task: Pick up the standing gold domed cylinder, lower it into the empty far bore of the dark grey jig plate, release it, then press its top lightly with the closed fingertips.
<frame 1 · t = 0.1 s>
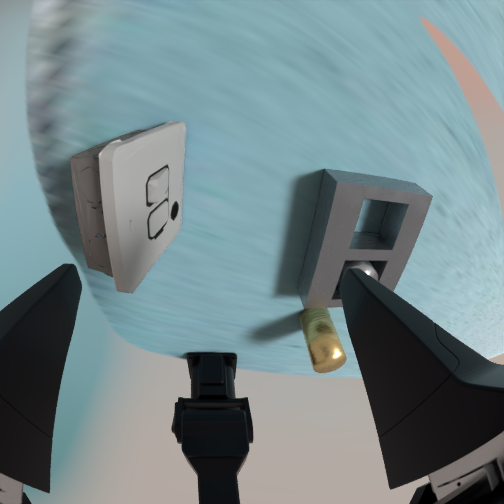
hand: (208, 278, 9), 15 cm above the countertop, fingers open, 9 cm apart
gold domed cylinder: (313, 315, 32), on the countertop
electrical switch: (151, 177, 21), on the countertop
jig: (357, 237, 26), on the countertop
silver round knob: (348, 261, 28), resting in jig
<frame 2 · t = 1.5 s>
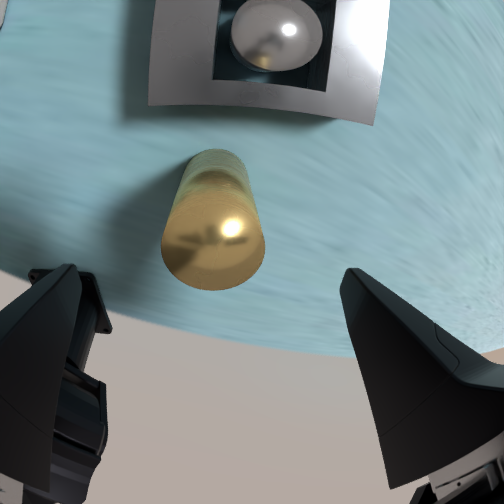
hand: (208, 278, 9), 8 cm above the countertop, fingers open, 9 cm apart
gold domed cylinder: (215, 179, 15), on the countertop
silver round knob: (265, 40, 11), resting in jig
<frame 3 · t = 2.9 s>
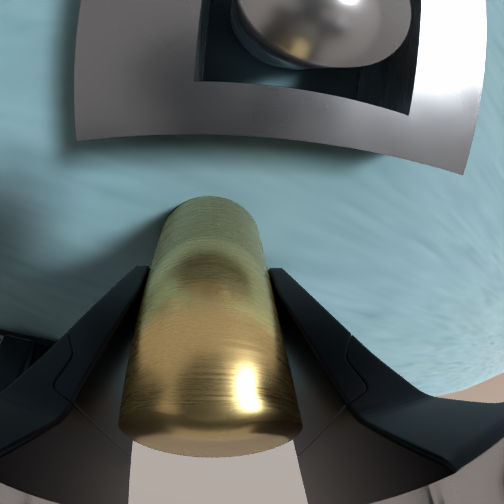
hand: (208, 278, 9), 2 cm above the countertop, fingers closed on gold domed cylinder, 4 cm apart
gold domed cylinder: (209, 241, 10), on the countertop, touching gripper
silver round knob: (291, 17, 6), resting in jig
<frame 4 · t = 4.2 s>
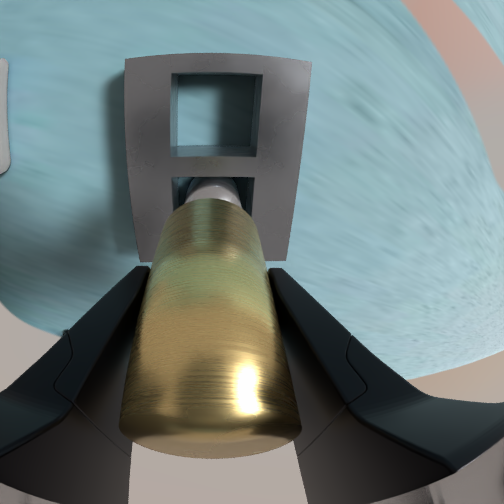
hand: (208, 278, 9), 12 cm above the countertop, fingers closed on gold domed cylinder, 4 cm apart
gold domed cylinder: (209, 243, 10), point 10 cm above the countertop, touching gripper
jig: (213, 154, 18), on the countertop
silver round knob: (212, 195, 19), resting in jig
when the fingers open (3 cm above the countertop, at t = 5.9 s): gold domed cylinder drops 2 cm, resting in jig.
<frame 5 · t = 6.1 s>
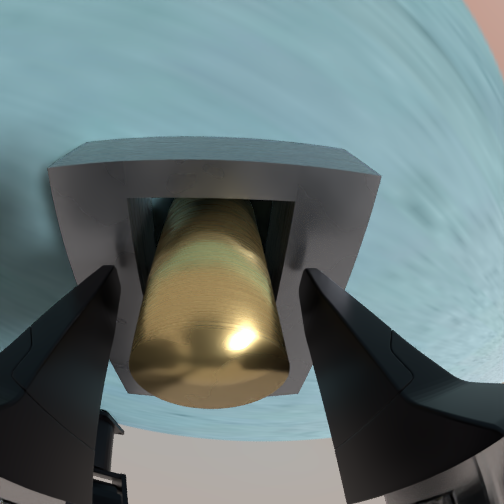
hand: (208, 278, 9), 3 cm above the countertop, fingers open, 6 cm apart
gold domed cylinder: (211, 222, 11), resting in jig
jig: (210, 278, 13), on the countertop
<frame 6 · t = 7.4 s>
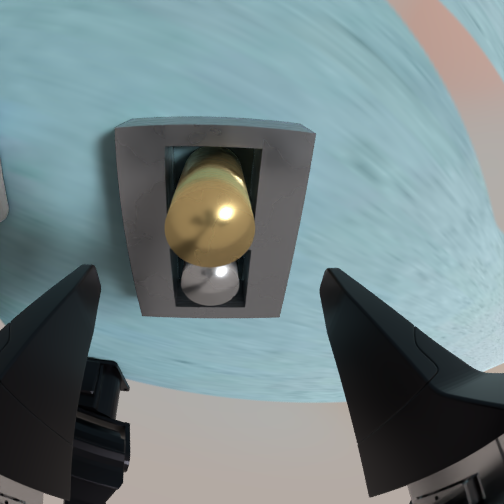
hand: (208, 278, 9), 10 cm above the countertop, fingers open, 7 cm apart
gold domed cylinder: (212, 173, 17), resting in jig
jig: (211, 215, 18), on the countertop
silver round knob: (210, 252, 20), resting in jig
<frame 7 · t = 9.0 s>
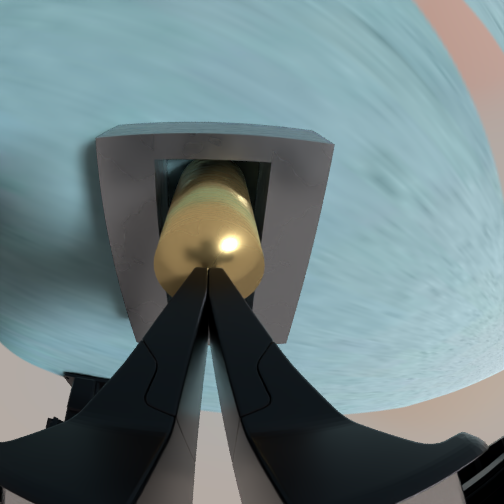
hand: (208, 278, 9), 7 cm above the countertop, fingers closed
gold domed cylinder: (212, 187, 15), resting in jig
jig: (210, 234, 16), on the countertop
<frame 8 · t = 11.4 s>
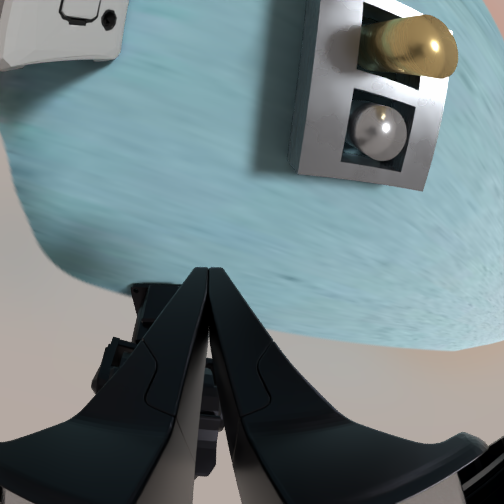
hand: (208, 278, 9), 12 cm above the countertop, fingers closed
gold domed cylinder: (371, 48, 14), resting in jig
electrical switch: (95, 8, 11), on the countertop
jig: (366, 84, 16), on the countertop
silver round knob: (359, 123, 18), resting in jig
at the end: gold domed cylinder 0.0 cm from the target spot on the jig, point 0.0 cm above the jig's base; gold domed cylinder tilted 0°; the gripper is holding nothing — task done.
